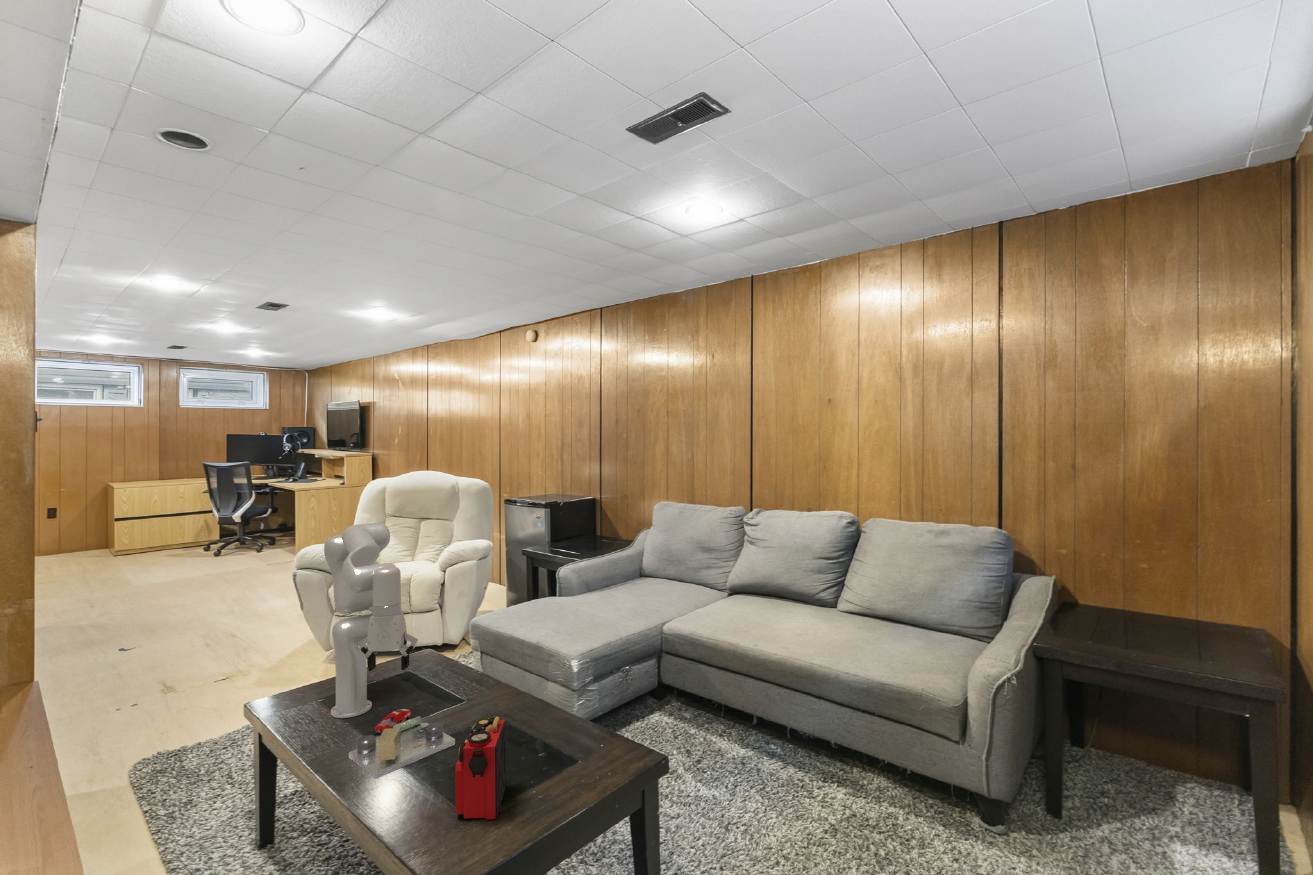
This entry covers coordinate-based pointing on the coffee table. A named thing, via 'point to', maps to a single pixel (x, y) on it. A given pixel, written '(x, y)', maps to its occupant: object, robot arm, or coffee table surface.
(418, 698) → the coffee table surface
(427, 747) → the levelling base
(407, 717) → the race car
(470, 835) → the coffee table surface
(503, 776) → the radio
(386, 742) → the wooden rectangular block
